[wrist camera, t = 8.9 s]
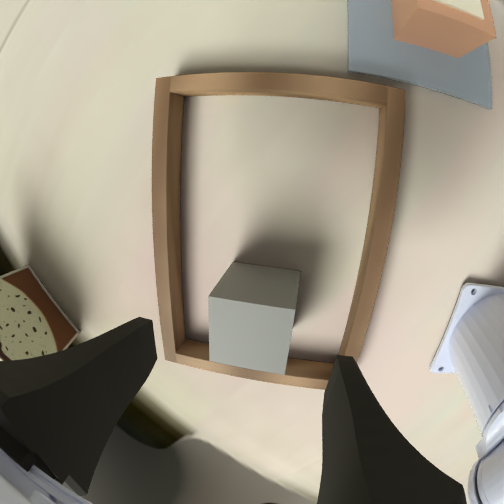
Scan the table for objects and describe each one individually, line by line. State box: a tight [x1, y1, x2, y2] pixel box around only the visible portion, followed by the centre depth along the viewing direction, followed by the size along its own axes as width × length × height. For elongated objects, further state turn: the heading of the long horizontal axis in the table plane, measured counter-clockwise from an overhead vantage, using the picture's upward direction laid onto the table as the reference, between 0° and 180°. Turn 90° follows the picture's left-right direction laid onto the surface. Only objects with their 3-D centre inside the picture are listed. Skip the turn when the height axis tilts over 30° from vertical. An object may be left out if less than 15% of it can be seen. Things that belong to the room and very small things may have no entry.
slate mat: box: [347, 0, 492, 109], centre depth 11 cm, size 10×10×1 cm
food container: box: [0, 265, 80, 361], centre depth 22 cm, size 12×6×10 cm, turn 42°
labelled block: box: [391, 0, 496, 58], centre depth 9 cm, size 4×4×5 cm
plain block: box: [209, 262, 301, 375], centre depth 18 cm, size 4×4×5 cm
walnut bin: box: [152, 72, 405, 390], centre depth 18 cm, size 14×20×2 cm
